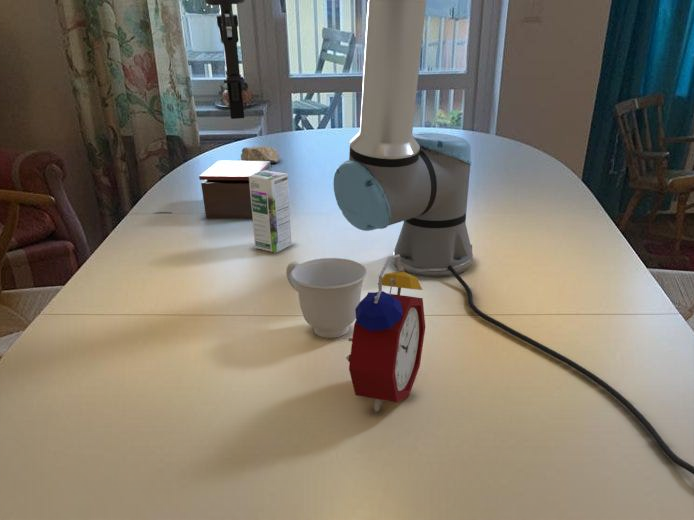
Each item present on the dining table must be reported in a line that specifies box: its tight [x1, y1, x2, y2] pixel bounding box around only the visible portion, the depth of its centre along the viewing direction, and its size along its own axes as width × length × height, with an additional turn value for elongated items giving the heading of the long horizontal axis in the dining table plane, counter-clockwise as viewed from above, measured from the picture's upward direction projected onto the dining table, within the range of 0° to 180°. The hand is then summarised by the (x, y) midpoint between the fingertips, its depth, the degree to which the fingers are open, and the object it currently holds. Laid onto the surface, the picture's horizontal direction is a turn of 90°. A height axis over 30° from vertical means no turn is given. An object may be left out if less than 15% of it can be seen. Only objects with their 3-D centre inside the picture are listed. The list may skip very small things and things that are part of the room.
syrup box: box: [249, 170, 293, 254], centre depth 148 cm, size 6×6×14 cm
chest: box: [200, 164, 272, 220], centre depth 171 cm, size 16×13×8 cm
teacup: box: [285, 257, 368, 339], centre depth 119 cm, size 12×15×10 cm
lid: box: [198, 160, 272, 181], centre depth 168 cm, size 16×13×1 cm
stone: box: [240, 145, 280, 164], centre depth 205 cm, size 8×10×4 cm
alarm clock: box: [342, 254, 426, 413], centre depth 99 cm, size 15×9×20 cm, turn 158°
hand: (237, 117), depth 150 cm, fingers closed
